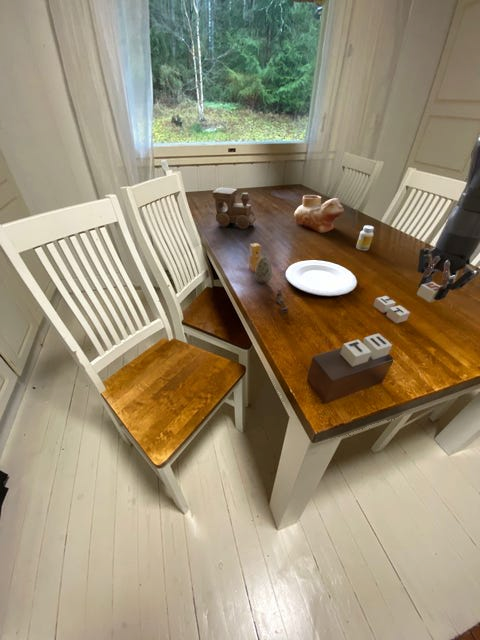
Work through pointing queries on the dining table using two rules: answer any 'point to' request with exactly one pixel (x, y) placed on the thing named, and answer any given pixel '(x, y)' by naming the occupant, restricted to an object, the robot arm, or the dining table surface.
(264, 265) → the decorative egg
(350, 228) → the dining table surface
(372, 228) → the supplement bottle
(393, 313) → the letter cube pair
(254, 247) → the supplement box
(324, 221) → the ceramic vessel
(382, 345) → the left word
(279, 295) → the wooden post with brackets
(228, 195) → the wooden toy train
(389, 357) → the tile rack
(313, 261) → the plate
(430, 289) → the tile
